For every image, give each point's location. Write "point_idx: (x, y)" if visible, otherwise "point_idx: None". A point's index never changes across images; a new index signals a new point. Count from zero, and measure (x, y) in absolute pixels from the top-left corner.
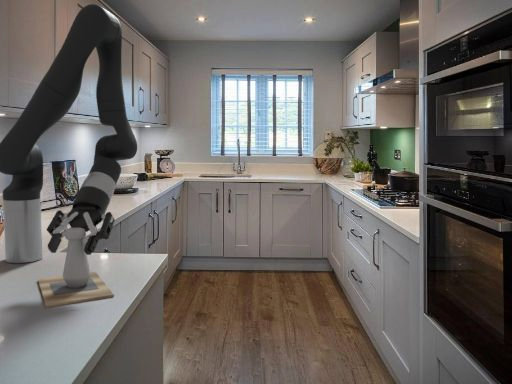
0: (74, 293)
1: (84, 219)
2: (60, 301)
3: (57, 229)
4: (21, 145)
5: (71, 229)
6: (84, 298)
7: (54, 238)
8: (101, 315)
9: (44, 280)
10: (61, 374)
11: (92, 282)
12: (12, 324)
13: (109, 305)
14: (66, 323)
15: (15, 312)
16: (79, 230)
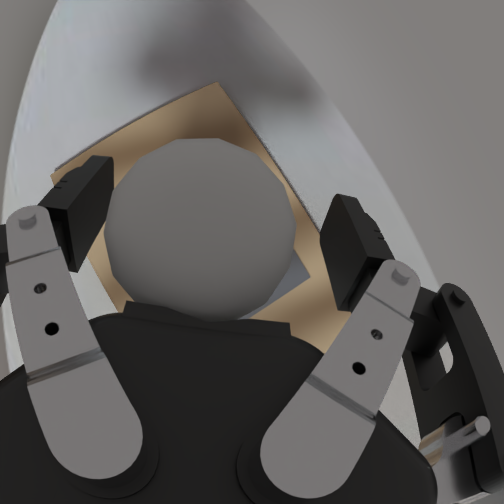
0: None
1: (138, 399)
2: (187, 105)
3: (400, 291)
4: None
5: (215, 162)
6: (124, 132)
7: (363, 232)
8: (67, 59)
9: (346, 316)
10: None
11: None
12: (242, 12)
13: (55, 113)
14: (131, 19)
15: (277, 62)
16: (134, 175)
